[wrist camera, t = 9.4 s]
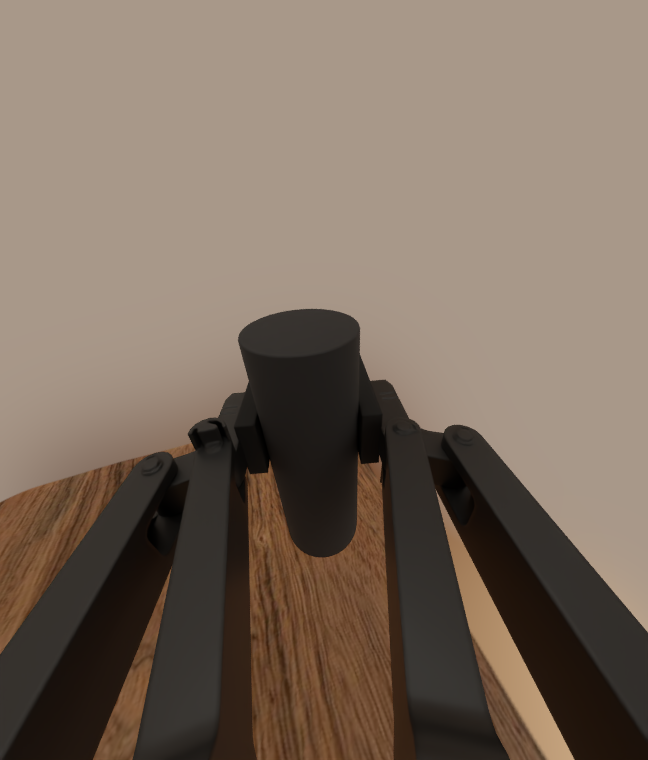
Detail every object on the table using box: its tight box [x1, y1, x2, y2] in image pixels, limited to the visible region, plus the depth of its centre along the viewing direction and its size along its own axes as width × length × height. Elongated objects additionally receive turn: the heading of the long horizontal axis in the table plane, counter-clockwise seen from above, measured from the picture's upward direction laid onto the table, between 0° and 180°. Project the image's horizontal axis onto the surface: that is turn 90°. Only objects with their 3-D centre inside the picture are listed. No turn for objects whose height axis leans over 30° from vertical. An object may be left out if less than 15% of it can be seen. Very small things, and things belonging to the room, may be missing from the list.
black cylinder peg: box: [238, 309, 360, 557], centre depth 12 cm, size 4×4×12 cm
